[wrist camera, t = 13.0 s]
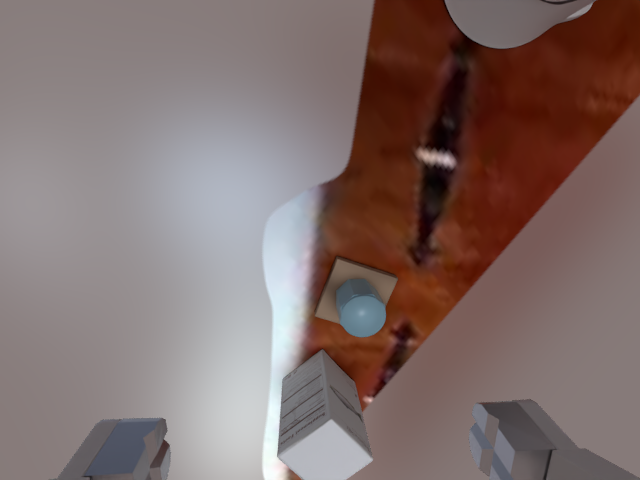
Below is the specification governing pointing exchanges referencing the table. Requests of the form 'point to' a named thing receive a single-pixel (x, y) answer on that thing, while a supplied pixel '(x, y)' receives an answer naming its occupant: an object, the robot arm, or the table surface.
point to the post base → (351, 270)
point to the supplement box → (322, 422)
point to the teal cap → (360, 308)
